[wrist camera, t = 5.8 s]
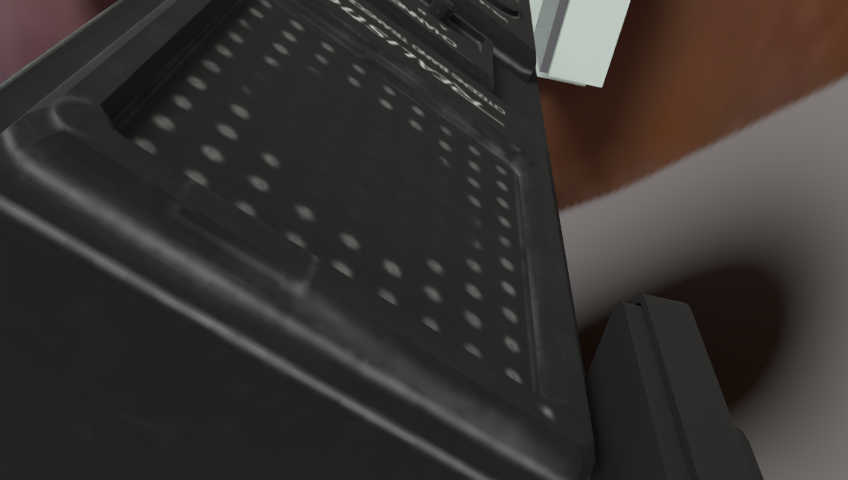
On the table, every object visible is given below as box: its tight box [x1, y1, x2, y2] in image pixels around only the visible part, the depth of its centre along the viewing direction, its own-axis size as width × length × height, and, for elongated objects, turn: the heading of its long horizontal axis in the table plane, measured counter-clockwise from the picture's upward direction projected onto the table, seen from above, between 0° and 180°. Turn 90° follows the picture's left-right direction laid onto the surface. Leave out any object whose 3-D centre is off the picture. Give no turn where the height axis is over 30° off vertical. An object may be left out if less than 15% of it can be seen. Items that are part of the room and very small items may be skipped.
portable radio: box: [0, 0, 600, 480], centre depth 16 cm, size 8×6×25 cm
